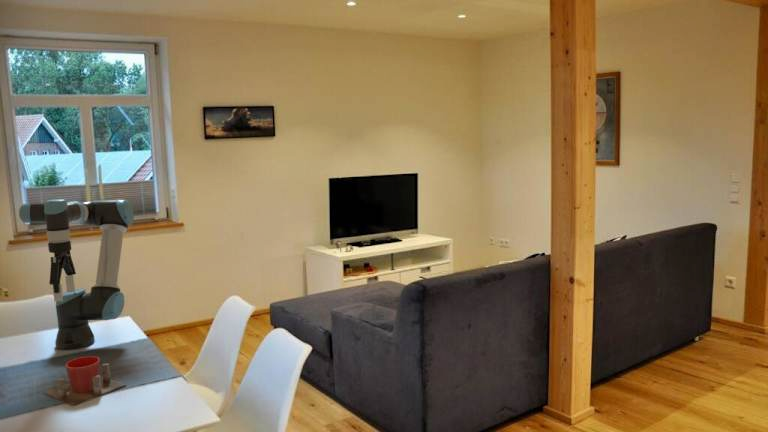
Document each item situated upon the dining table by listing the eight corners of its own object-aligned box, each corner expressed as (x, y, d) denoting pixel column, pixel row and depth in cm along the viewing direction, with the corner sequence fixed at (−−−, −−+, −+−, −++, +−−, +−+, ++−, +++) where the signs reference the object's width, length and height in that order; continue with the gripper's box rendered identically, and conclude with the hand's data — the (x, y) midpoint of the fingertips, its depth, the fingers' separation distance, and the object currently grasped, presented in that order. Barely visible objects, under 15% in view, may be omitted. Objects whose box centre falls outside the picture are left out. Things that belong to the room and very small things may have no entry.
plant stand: (96, 375, 230) (95, 358, 229) (125, 386, 219) (124, 368, 218) (44, 393, 215) (42, 375, 214) (72, 406, 204) (70, 387, 203)
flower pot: (109, 384, 220) (106, 358, 218) (82, 396, 210) (79, 369, 209) (88, 380, 224) (85, 354, 223) (61, 391, 214) (58, 365, 213)
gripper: (60, 236, 242) (65, 288, 245) (35, 247, 218) (41, 306, 221) (80, 235, 243) (85, 287, 246) (58, 246, 219) (64, 304, 222)
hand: (65, 296), depth 233 cm, fingers open, 13 cm apart
